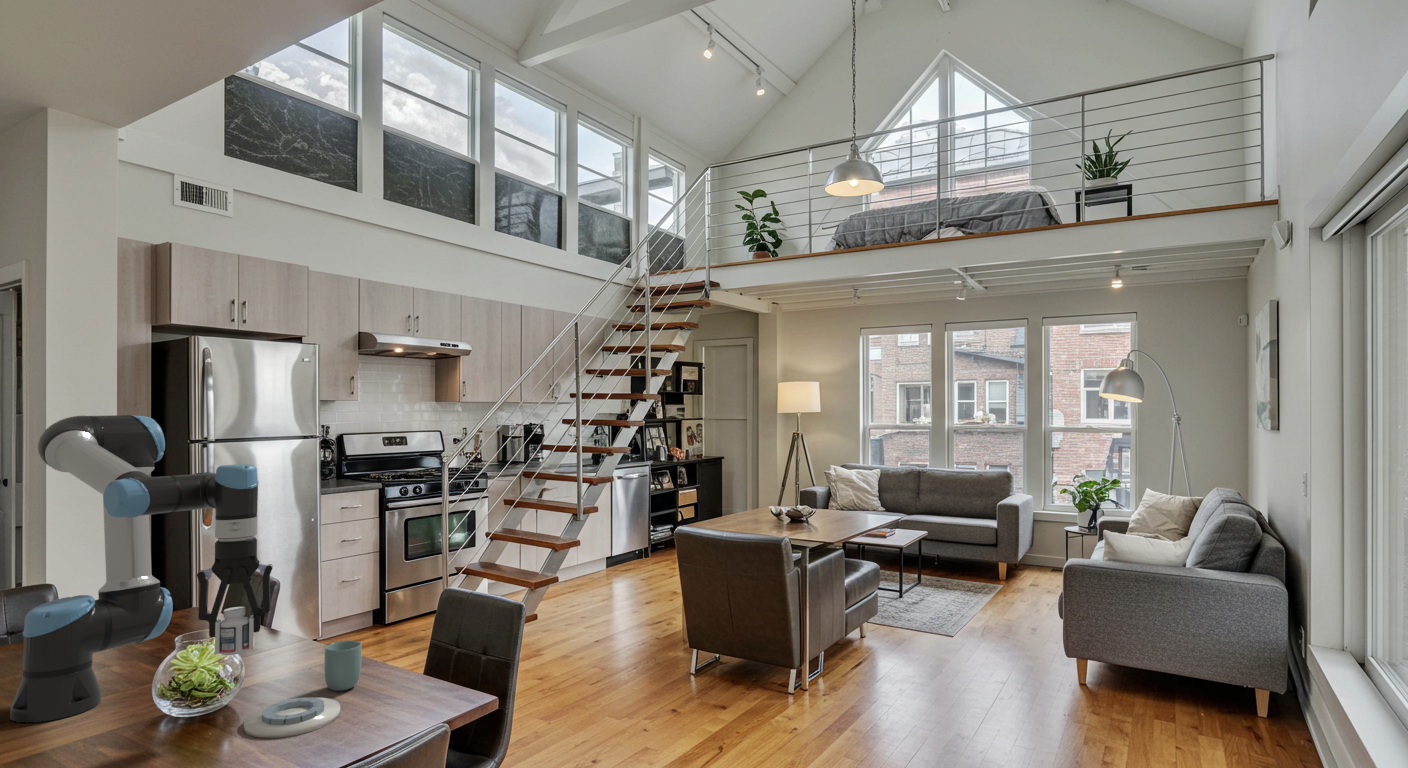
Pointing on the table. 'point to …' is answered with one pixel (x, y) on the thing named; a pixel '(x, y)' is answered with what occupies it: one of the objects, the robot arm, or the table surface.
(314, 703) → the tray
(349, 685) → the cup
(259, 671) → the table surface
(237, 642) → the pill bottle
